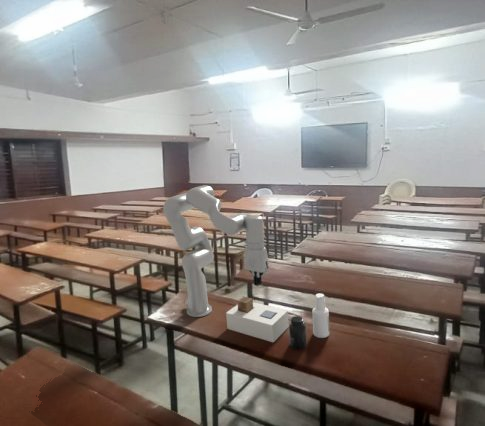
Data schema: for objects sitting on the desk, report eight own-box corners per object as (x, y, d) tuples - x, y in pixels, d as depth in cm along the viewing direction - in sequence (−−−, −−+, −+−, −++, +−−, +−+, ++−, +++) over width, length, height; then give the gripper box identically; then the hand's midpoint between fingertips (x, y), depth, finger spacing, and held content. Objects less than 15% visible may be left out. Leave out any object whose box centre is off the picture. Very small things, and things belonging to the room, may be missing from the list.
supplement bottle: (287, 348, 150) (285, 321, 148) (293, 339, 156) (291, 313, 153) (303, 351, 147) (302, 324, 144) (308, 342, 153) (307, 316, 150)
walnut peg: (238, 314, 169) (237, 301, 167) (244, 309, 173) (243, 296, 171) (247, 316, 166) (246, 303, 164) (253, 311, 170) (252, 298, 168)
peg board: (227, 328, 168) (226, 312, 167) (244, 314, 180) (243, 299, 178) (273, 342, 155) (272, 325, 153) (288, 326, 166) (287, 310, 164)
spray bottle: (332, 332, 158) (331, 294, 154) (324, 340, 154) (322, 300, 150) (318, 327, 163) (317, 290, 159) (310, 334, 158) (308, 296, 154)
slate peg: (261, 328, 163) (260, 315, 161) (267, 323, 167) (266, 310, 165) (271, 331, 160) (270, 317, 159) (276, 325, 164) (276, 312, 163)
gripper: (236, 244, 158) (238, 284, 163) (266, 249, 150) (268, 291, 154) (245, 239, 164) (248, 278, 169) (275, 244, 156) (277, 284, 160)
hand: (257, 284), depth 161 cm, fingers closed
